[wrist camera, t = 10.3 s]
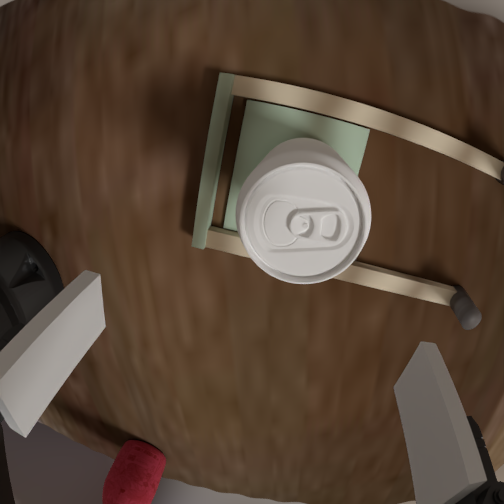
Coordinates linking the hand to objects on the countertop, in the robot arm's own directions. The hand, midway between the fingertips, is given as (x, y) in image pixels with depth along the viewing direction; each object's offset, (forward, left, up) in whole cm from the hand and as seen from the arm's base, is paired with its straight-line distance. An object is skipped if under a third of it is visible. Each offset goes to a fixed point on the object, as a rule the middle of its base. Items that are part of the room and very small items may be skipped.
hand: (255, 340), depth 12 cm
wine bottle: (-15, -56, -20) cm, 61 cm away
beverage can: (+1, +2, -19) cm, 20 cm away
